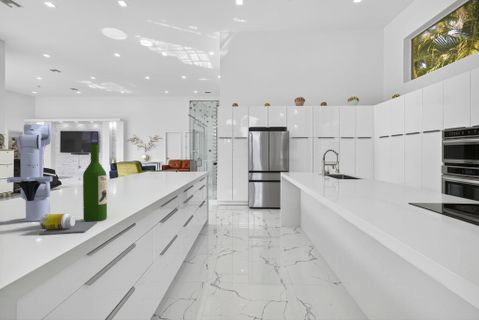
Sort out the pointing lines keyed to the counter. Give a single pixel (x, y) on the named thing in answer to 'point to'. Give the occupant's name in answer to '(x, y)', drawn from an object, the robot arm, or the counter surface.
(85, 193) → the wine bottle
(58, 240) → the counter surface
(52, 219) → the supplement bottle
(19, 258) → the counter surface
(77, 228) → the mat
